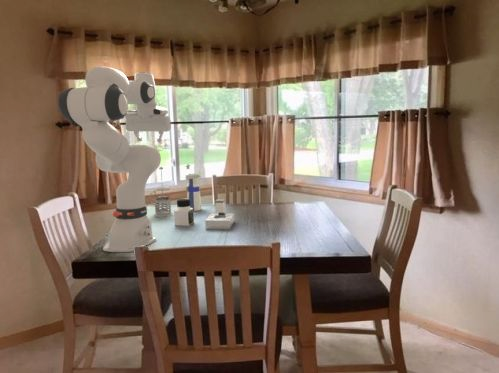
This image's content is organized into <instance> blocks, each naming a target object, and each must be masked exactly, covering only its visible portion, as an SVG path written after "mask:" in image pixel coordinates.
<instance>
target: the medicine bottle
mask: <svg viewBox="0 0 499 373" xmlns="http://www.w3.org/2000/svg"><path fill="white" fill-rule="evenodd" d="M194 212H195V211H193V208H190V200H189V199H187V197H186V198H179V199H177V200H176V209H175V210H174V211H173V217H174V220H173V221H174V226H180V227H182V226H184V227H190V226H191V225H192V224H193V223H194V222H195V215H194Z"/></svg>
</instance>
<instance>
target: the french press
mask: <svg viewBox="0 0 499 373" xmlns="http://www.w3.org/2000/svg"><path fill="white" fill-rule="evenodd" d="M158 168H159V170H160V172H161V174H160V177H161V178H160V179H161V180H163V177H162V176H163V175H162V170H163V169H164V167H163V166H159V167H158ZM169 190H171V187H169V186H167V185H163V184H161V185H158V186H156V187H155V188H154V191H152V192H151V193H150V194H149V197H148V198H149V202H150V203H151V205H152V206H154V209H155V210H154V211H155V213H154V214H153V216H154V217H158V218H159V217H161V218H162V217H163V218H164V217H169V216H174V212H172V206H171V197H170V195H169V194H163V193H164V192H163V191H169ZM156 191H157V192H158V191H159V192H160V191H161V194H160V195H156V194H157V193H156ZM153 193H154V195H155V202H154V203H153V202H152V201H153V200H152V198H151V197H152V195H153Z"/></svg>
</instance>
